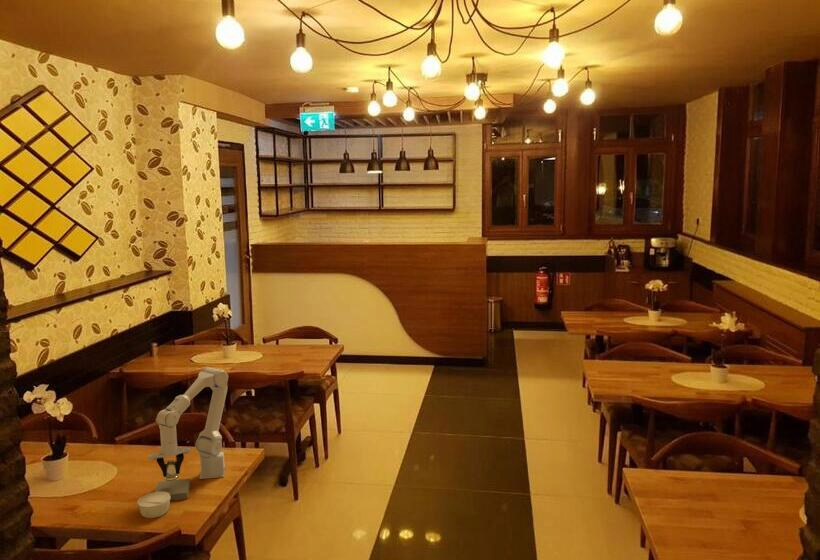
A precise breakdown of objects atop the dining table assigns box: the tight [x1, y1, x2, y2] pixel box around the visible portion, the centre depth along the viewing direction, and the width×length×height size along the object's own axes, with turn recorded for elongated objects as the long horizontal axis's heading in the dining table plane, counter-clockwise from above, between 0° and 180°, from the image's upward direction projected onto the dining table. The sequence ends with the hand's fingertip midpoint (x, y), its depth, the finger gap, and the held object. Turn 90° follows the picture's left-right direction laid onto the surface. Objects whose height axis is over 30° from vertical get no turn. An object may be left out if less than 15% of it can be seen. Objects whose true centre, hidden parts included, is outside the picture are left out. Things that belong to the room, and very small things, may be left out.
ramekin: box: [136, 491, 171, 519], centre depth 233 cm, size 11×11×5 cm
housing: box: [163, 459, 180, 481], centre depth 246 cm, size 5×5×7 cm
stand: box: [154, 477, 192, 502], centre depth 247 cm, size 12×12×2 cm
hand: (171, 474), depth 246 cm, fingers closed on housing, 4 cm apart
